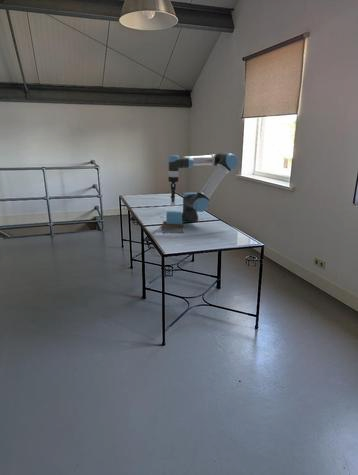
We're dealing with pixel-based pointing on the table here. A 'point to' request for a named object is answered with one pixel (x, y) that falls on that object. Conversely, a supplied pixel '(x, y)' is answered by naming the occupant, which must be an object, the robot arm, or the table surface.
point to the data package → (174, 217)
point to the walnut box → (171, 225)
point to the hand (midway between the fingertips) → (172, 204)
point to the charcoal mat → (172, 230)
